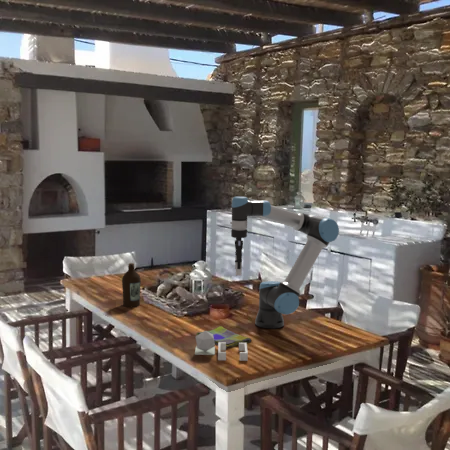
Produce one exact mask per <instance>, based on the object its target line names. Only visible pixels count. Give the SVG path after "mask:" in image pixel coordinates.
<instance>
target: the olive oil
mask: <svg viewBox="0 0 450 450" xmlns="http://www.w3.org/2000/svg"><path fill="white" fill-rule="evenodd" d="M127 267H128V270H127V271H126V272H125V273H124V274H123V275H122V278H121V285H122V304H123V307H125V308H138V307H139V306H140V304H141V284H142V283H141V281H142V280H141V276H140V274H139V273H138V272H137V271H136V270H135V263H134V262H130V263H128V266H127Z"/></svg>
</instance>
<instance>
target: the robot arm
mask: <svg viewBox="0 0 450 450" xmlns="http://www.w3.org/2000/svg"><path fill="white" fill-rule="evenodd" d="M231 200H232V201H231V221H230V223H229V224H230V225H231V230H230V231H231V237H232V238H234V239H235V240H234V249H235V256H234V258H235V260H234V269H235V276H242V269H243V267H242V266H243V262H242V261H243V249H244V247H243V245H244V240H242V239H245V238H247V236H248V230H247V229H248V217H259V218H262V219H265V220H268V221H271V222H275V223H278V224H281V225H284V226H288V227H291V228H293V230H295V231H298V232H300V233H303V234H305V235H306V240H307V241H306V242H305V244H304V246H303V248H302V249H301V251H300V254H299V255H298V256H297V258H296V260H295V262H294V264H293V265H292V267H291V269H290V270H289V273H288V274H287V276H286V278H285V279H284V280H283V281H277V280H275V281H273V280H272V281H271V280H269V281H268V280H267V281H261V282H260V284H259V289H258V291H259V292H258V295H259V296H258V297H259V298H258V299H259V300H258V311H257V314H256V317H255V321H254V322H255V326H257V327H259V328H263V329H279V328H282V327H284V326H285V321H284V316H283V315H290V314H293V313H295V312H296V310H297V309H298V308H299V306H300V301H299V300H300V298H299V297H300V295H301V290H300V289H301V287H302V286H303V285H304V282H305V280H306V278H307V277H308V276H309V273H310V271H311V269H312V268H313V266H314V265H315V263H316V261H317V259H318V258H319V255H320V254H321V252H322V250H323V249H327V247H328V246H329V244H330V243H332V242H334V241H335V240H337V238H338V236H339V233H340V228H339V225H338V222H336V220H334V219H332V218H330V217H327V216H320V215H316V214H307V213H305V212H304V213H303V212H298V213H297V212H293V211H290V210H287V209H284V208H281V207H279V206H278V207H277V206H274V205H272V204H271V202H270V201H269V200H264V199H263V200H258V199H253V198H249V197H247V196H233V197H232V199H231Z"/></svg>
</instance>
